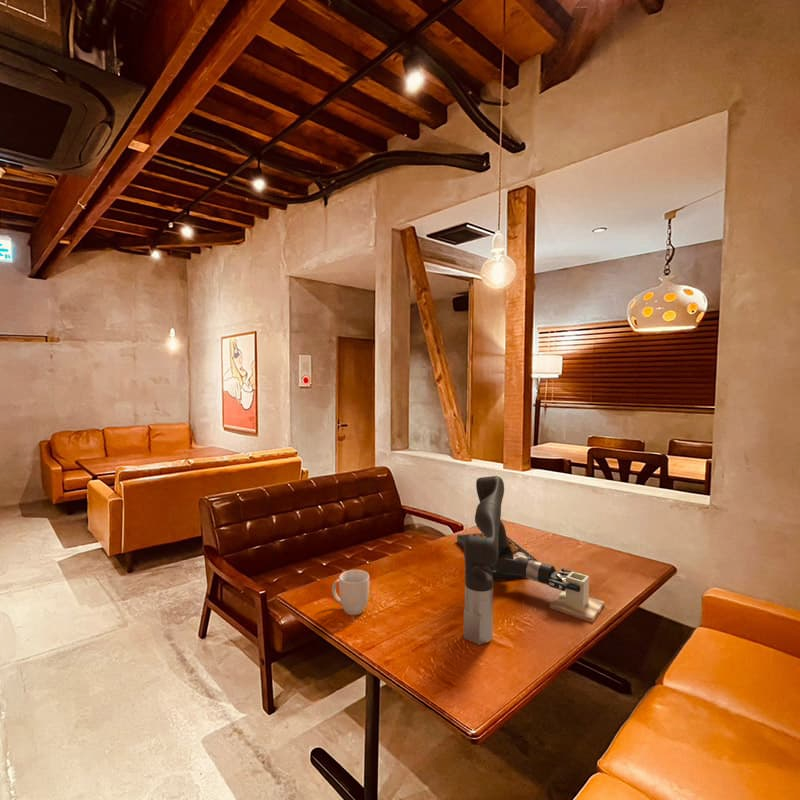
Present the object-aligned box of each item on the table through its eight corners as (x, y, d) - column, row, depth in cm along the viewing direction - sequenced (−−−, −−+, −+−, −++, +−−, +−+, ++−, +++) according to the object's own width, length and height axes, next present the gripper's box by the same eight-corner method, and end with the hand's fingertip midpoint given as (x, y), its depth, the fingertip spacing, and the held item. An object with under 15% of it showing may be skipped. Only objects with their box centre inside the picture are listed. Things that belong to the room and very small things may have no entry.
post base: (592, 622, 152) (592, 598, 152) (549, 608, 162) (550, 585, 161) (604, 605, 163) (604, 583, 163) (564, 592, 173) (564, 572, 173)
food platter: (545, 576, 189) (545, 553, 188) (492, 582, 184) (493, 558, 183) (500, 539, 233) (500, 520, 232) (457, 543, 228) (457, 523, 227)
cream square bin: (583, 609, 158) (583, 582, 158) (565, 603, 162) (566, 577, 162) (588, 602, 163) (589, 576, 162) (571, 596, 167) (571, 571, 167)
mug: (324, 612, 159) (324, 577, 158) (340, 598, 169) (340, 565, 168) (360, 621, 153) (360, 585, 152) (374, 606, 163) (374, 572, 162)
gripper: (533, 569, 166) (577, 582, 155) (547, 557, 177) (589, 568, 166) (533, 588, 166) (576, 602, 155) (547, 575, 177) (589, 587, 166)
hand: (583, 585), depth 161 cm, fingers open, 7 cm apart
